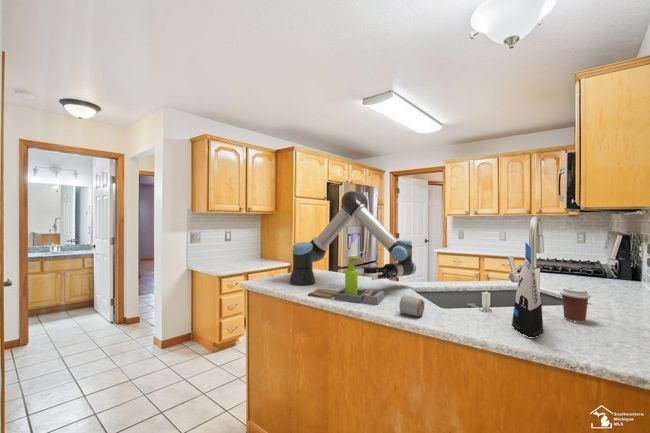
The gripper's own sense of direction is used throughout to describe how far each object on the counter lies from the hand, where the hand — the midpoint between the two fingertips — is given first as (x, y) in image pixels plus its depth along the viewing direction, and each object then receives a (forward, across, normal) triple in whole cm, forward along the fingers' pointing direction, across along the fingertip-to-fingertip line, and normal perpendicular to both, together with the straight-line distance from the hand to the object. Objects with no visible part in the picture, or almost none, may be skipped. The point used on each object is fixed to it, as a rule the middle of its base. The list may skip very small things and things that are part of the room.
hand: (362, 274), depth 150 cm
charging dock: (+4, -3, -11) cm, 12 cm away
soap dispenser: (+6, +1, -11) cm, 13 cm away
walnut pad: (+14, +14, -11) cm, 22 cm away
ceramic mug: (+1, -31, -11) cm, 33 cm away
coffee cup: (-46, -71, -11) cm, 85 cm away
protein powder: (-22, -64, -11) cm, 69 cm away
